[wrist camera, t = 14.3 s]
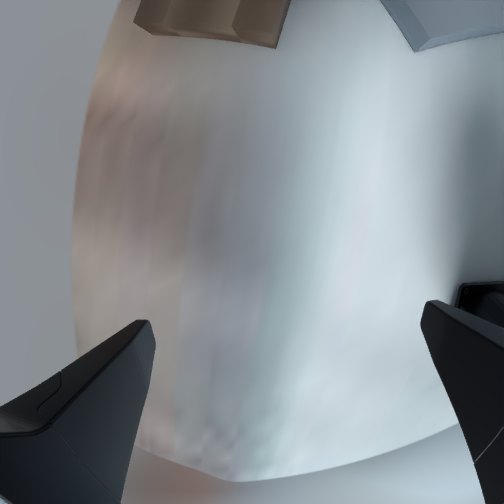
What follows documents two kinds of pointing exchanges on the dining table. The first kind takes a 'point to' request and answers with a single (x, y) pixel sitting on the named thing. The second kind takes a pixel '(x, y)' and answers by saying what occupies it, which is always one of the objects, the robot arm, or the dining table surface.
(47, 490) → the robot arm
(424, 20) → the board
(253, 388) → the dining table surface
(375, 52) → the dining table surface
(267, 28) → the frame
